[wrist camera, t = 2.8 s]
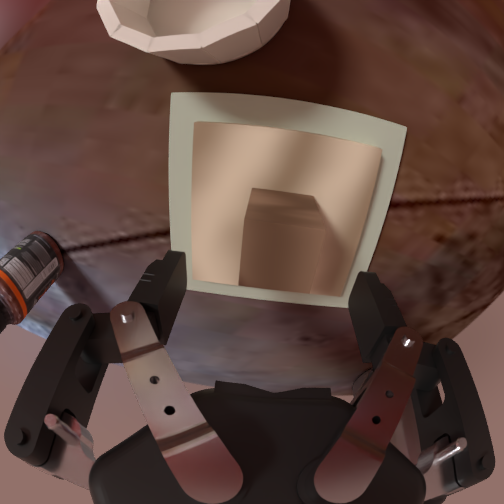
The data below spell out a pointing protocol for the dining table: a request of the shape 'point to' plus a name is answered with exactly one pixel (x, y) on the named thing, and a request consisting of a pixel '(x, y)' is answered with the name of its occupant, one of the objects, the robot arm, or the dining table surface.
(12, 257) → the supplement bottle
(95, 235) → the dining table surface
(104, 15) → the bowl
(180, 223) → the mat
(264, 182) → the lid
